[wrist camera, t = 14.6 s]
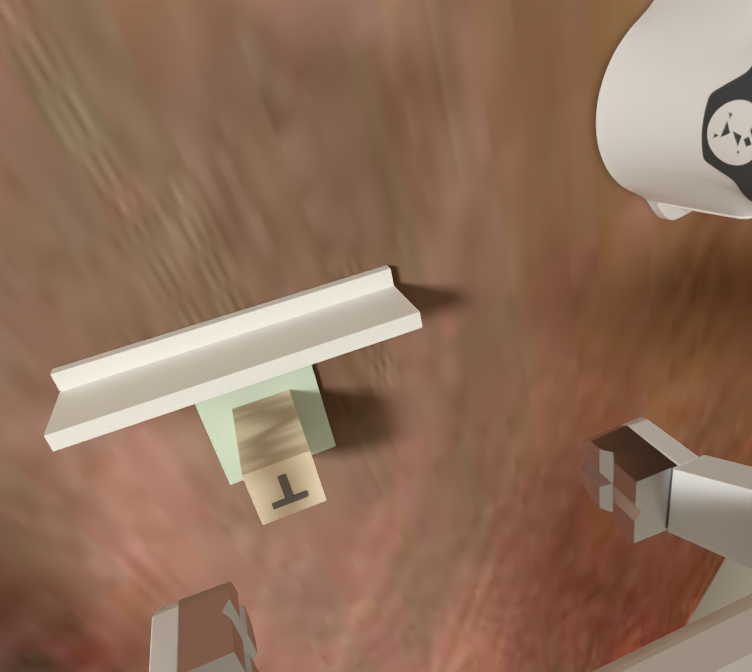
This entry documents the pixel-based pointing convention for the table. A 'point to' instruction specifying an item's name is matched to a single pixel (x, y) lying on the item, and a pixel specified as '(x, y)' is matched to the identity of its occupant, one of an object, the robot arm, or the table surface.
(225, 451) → the sage mat
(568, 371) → the table surface
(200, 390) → the white shelf
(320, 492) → the birch block
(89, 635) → the table surface
